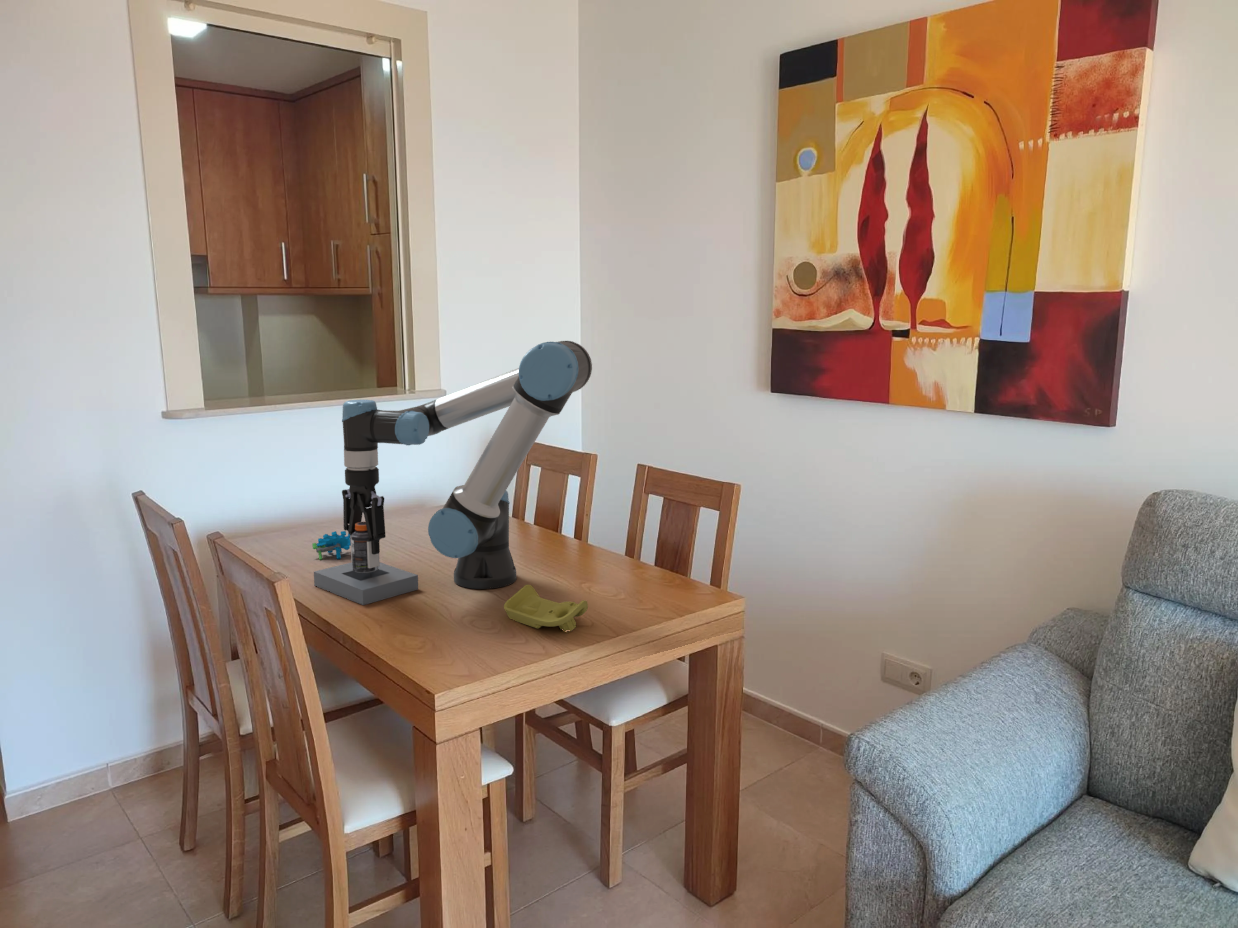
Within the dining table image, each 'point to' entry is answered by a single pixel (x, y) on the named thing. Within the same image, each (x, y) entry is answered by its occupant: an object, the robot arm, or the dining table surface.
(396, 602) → the dining table surface
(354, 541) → the pill bottle
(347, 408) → the robot arm
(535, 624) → the plastic component
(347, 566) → the socket block
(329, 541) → the gear
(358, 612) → the dining table surface
